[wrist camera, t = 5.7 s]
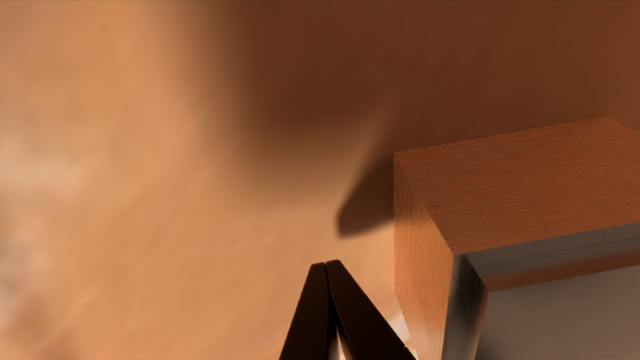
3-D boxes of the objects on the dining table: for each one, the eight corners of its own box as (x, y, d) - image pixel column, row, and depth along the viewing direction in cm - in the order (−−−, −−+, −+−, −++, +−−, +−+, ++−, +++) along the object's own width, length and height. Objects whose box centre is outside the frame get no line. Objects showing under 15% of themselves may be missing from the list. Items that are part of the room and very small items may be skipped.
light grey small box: (549, 260, 13) (663, 388, 9) (393, 289, 13) (444, 430, 9) (601, 113, 10) (814, 218, 6) (391, 150, 10) (468, 281, 6)
